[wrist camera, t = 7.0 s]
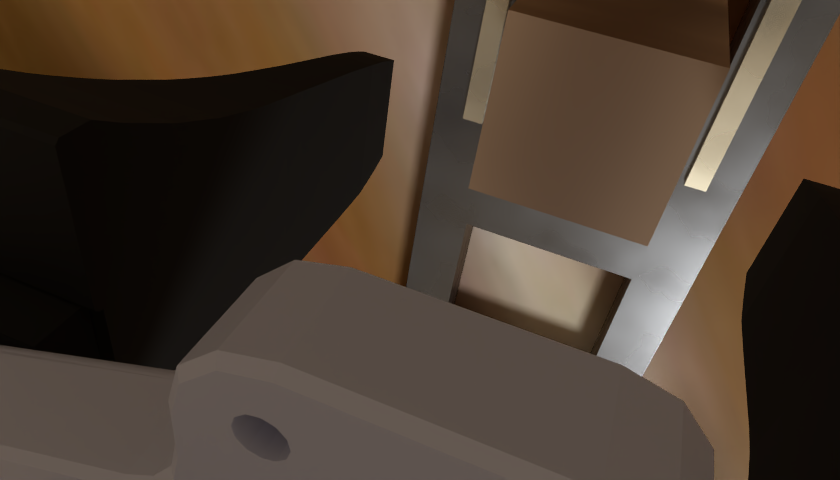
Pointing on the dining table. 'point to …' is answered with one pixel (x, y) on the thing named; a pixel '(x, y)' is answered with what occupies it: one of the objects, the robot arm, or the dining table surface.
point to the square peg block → (600, 107)
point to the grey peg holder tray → (640, 265)
